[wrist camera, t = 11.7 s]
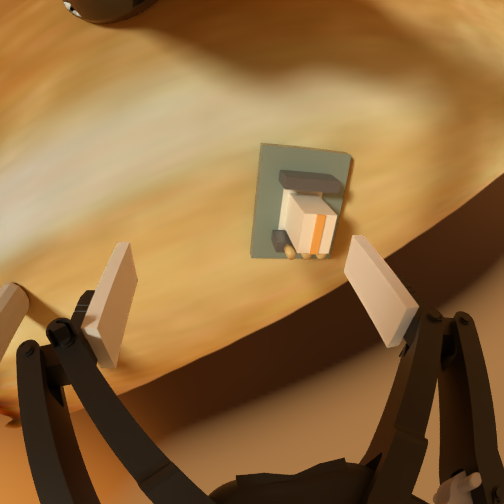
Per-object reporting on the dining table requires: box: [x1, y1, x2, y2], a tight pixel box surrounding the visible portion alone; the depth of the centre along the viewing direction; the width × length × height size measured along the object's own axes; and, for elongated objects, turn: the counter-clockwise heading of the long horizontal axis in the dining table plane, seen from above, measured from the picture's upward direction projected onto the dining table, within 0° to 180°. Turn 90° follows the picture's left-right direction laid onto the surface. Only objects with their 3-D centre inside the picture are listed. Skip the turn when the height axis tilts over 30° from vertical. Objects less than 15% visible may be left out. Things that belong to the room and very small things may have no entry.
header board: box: [250, 143, 351, 260], centre depth 37 cm, size 16×12×7 cm
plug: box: [284, 193, 337, 254], centre depth 36 cm, size 5×4×7 cm
